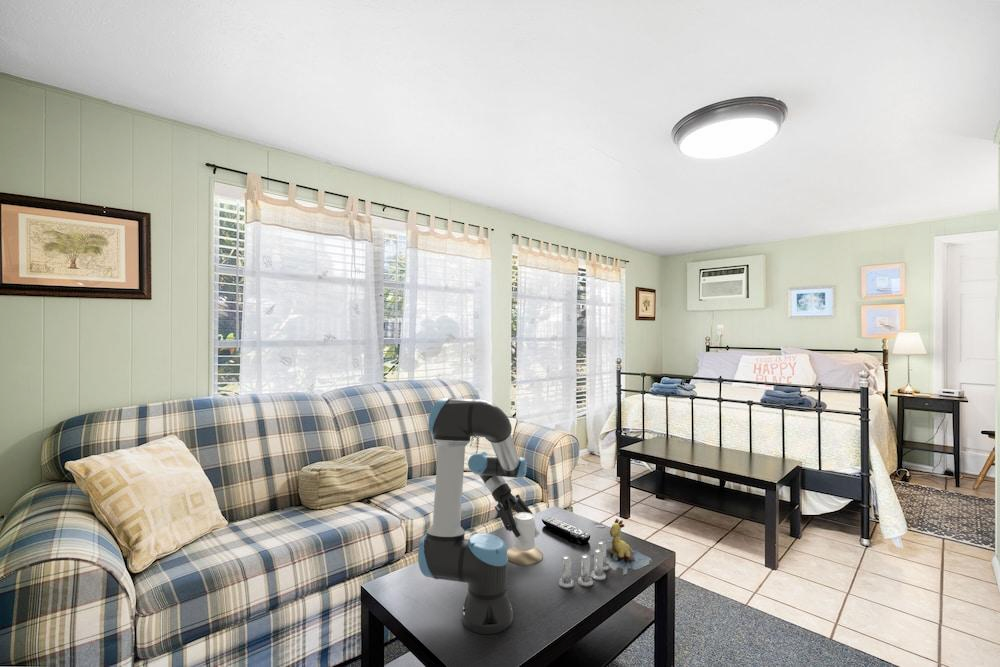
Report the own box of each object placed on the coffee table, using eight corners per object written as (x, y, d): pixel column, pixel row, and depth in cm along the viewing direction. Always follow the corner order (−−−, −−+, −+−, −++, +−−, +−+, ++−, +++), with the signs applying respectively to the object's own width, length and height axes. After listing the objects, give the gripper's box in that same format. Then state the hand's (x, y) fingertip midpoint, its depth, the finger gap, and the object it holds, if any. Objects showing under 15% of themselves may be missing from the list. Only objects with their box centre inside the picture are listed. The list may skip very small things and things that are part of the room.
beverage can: (535, 552, 168) (535, 520, 167) (513, 551, 168) (513, 520, 168) (534, 542, 176) (534, 511, 176) (513, 541, 176) (513, 511, 176)
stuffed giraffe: (590, 556, 171) (593, 515, 171) (622, 546, 181) (625, 507, 181) (623, 577, 158) (626, 532, 158) (656, 564, 168) (658, 522, 167)
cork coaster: (529, 568, 162) (529, 567, 162) (498, 557, 170) (498, 555, 170) (549, 554, 173) (549, 552, 173) (519, 543, 181) (519, 542, 181)
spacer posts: (587, 597, 144) (587, 569, 144) (556, 584, 151) (556, 558, 151) (615, 568, 162) (615, 543, 162) (587, 558, 169) (587, 534, 169)
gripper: (508, 486, 189) (540, 534, 179) (476, 500, 173) (509, 555, 163) (518, 476, 186) (551, 525, 176) (487, 489, 170) (521, 544, 160)
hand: (531, 539), depth 170 cm, fingers closed on beverage can, 8 cm apart
